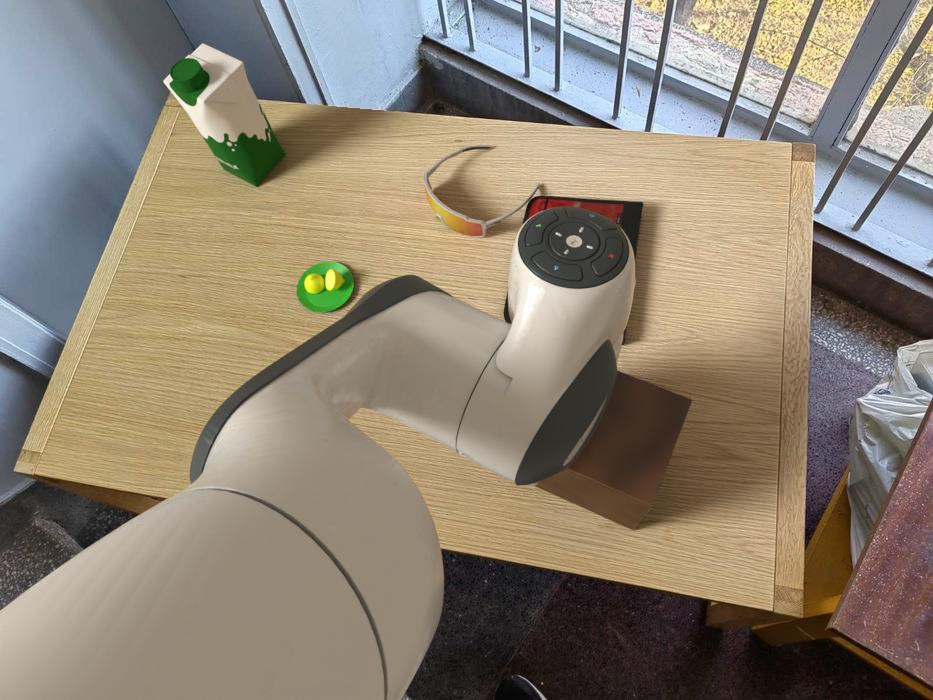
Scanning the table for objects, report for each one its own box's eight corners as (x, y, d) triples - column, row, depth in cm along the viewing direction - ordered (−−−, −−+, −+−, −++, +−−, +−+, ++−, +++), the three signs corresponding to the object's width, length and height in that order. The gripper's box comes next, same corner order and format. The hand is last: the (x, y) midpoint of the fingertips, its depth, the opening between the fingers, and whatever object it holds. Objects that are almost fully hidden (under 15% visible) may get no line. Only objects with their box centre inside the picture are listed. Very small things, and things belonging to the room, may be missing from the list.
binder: (644, 200, 92) (626, 339, 84) (642, 210, 94) (624, 346, 86) (527, 190, 96) (499, 323, 88) (528, 200, 98) (501, 331, 90)
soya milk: (215, 171, 105) (148, 69, 87) (253, 131, 108) (195, 24, 90) (257, 194, 102) (196, 94, 84) (294, 152, 105) (244, 46, 87)
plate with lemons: (346, 256, 96) (341, 245, 94) (361, 303, 93) (356, 292, 90) (292, 274, 96) (286, 264, 93) (305, 322, 92) (298, 312, 90)
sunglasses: (406, 199, 99) (404, 174, 95) (482, 150, 104) (483, 124, 100) (472, 257, 94) (472, 234, 90) (548, 202, 99) (552, 178, 95)
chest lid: (503, 441, 69) (502, 439, 68) (548, 346, 73) (548, 343, 72) (651, 506, 65) (653, 505, 64) (691, 402, 69) (692, 399, 68)
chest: (516, 477, 81) (512, 446, 69) (554, 394, 85) (556, 350, 73) (634, 530, 77) (651, 506, 65) (668, 440, 81) (691, 402, 69)
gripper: (551, 475, 52) (548, 510, 65) (643, 263, 59) (625, 332, 72) (477, 442, 54) (488, 483, 66) (575, 240, 61) (569, 312, 73)
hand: (560, 403), depth 69 cm, fingers closed
